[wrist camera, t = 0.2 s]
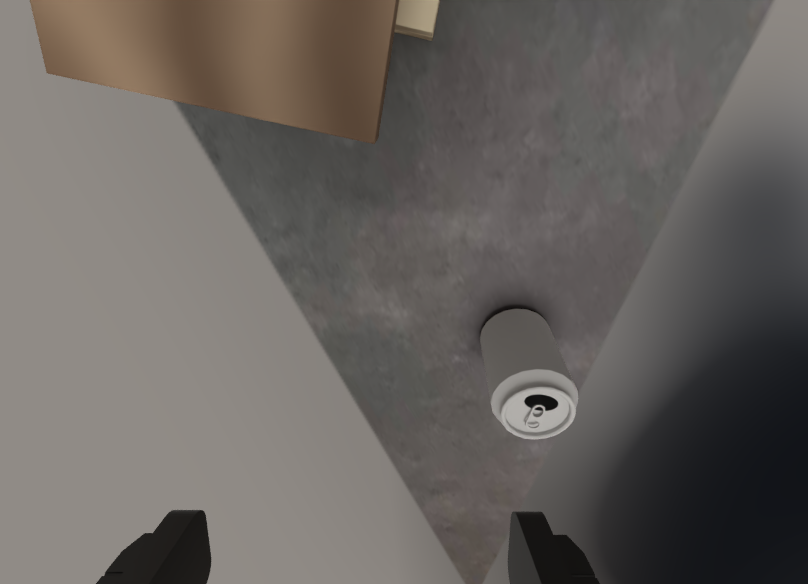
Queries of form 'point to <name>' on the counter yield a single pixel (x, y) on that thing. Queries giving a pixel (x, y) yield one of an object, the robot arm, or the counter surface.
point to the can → (527, 375)
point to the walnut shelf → (233, 55)
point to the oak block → (417, 18)
